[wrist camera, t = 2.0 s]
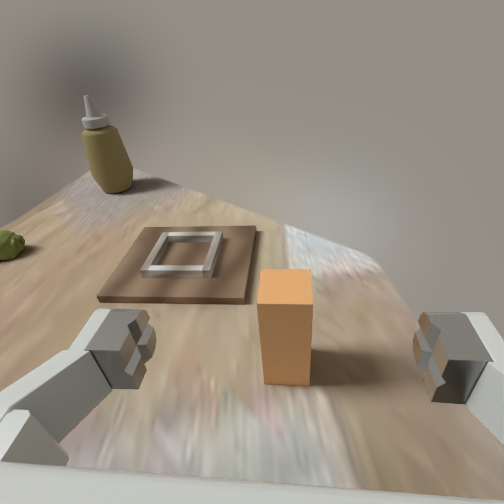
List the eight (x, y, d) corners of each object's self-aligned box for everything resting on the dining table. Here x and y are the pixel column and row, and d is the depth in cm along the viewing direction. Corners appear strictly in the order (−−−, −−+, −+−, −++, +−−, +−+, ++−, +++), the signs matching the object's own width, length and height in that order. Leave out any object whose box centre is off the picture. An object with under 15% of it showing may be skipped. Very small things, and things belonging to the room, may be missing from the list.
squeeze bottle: (119, 198, 65) (85, 100, 54) (90, 194, 68) (52, 100, 57) (145, 182, 71) (120, 91, 60) (117, 178, 74) (88, 91, 63)
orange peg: (264, 383, 29) (256, 303, 24) (267, 347, 33) (261, 269, 27) (309, 385, 29) (313, 304, 23) (307, 348, 32) (310, 269, 26)
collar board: (99, 302, 40) (92, 288, 39) (146, 232, 53) (142, 220, 52) (244, 304, 38) (242, 290, 37) (256, 231, 51) (255, 218, 49)
